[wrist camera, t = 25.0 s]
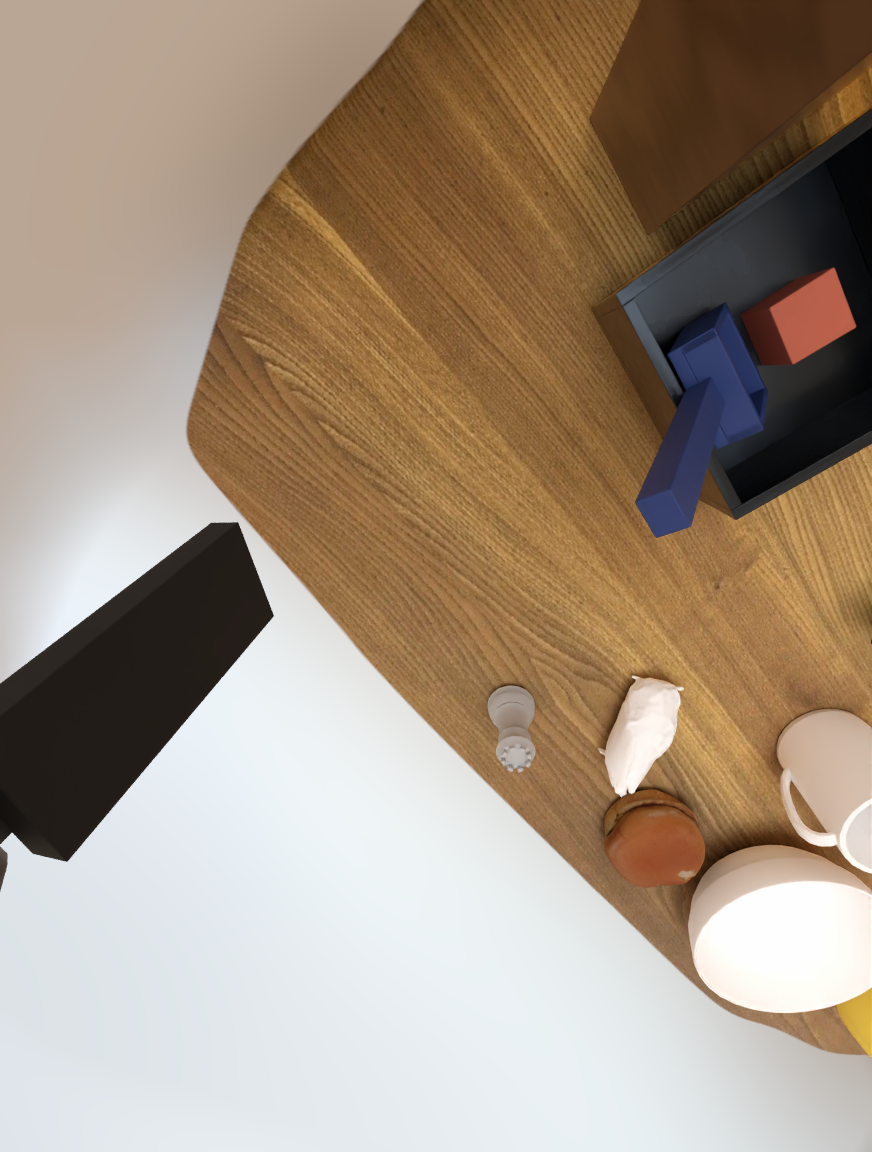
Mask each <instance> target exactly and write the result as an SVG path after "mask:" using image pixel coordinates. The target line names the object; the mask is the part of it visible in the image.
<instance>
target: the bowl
mask: <svg viewBox="0 0 872 1152" xmlns="http://www.w3.org/2000/svg"><path fill="white" fill-rule="evenodd" d="M688 930H689V938H690V944H691V949H692V955H693V961H694V965H695V967H696V969H697V971H698V974H699V976H700V977H701V979H702V980H703V981H704V982H705V984H706V985H707V986H708V987H709V988H710V989H711V990H712V991H714V992H715V993H716V994H718V995H719V996H720V997H722V998H724V999H726V1000H728V1001H730V1002H732V1003H734V1004H737V1005H740V1006H743V1007H746V1008H749V1009H754V1010H759V1011H765V1012H777V1013H795V1012H807V1011H813V1010H818V1009H823V1008H827V1007H831V1006H834V1005H837V1004H840V1003H843V1002H846V1001H848V1000H850V999H852V998H854V997H856V996H859V995H861V994H862V993H864V992H865V991H867V990H868V989H870V988H871V987H872V890H870V889H869V888H868V887H867V886H866V885H865V884H864V883H863V882H862V881H861V880H860V879H859V878H858V877H856V876H855V875H854V874H852V873H851V872H849V871H847V870H845V869H844V868H842V867H840V866H837V865H835V864H834V863H833V862H831V861H829V860H827V859H826V858H824V857H822V856H819V855H816V854H813V853H811V852H808V851H804V850H801V849H798V848H794V847H789V846H783V845H762V846H754V847H750V848H746V849H742V850H739V851H736V852H734V853H732V854H729V855H727V856H725V857H724V858H722V859H720V860H719V861H717V862H716V863H715V864H714V865H713V866H711V867H710V868H709V869H708V870H707V872H706V873H705V874H704V875H703V877H702V878H701V880H700V882H699V884H698V886H697V888H696V891H695V893H694V895H693V897H692V902H691V912H690V916H689V921H688Z"/></svg>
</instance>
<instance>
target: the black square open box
mask: <svg viewBox="0 0 872 1152" xmlns="http://www.w3.org/2000/svg"><path fill="white" fill-rule="evenodd" d="M830 268H835V271H836V273H837V276H838V279H839V281H840V284H841V287H842V289H843V292H844V295H845V297H846V300H847V303H848V306H849V308H850V311H851V314H852V316H853V319H854V322H855V324H856V328H854V329H853V330H851V331H849V332H848V333H846V334H844V335H842V336H841V337H839V338H837V339H836V340H834V341H832V342H831V343H829V344H827V345H826V346H824V347H822V348H821V349H819V350H817V351H815V352H814V353H812V354H810V355H809V356H807V357H805V358H804V359H802V360H800V361H799V362H797V363H795V364H794V365H767V366H762V364H761V362H760V360H759V358H758V355H757V353H756V351H755V348H754V346H753V344H752V341H751V339H750V337H749V334H748V332H747V330H746V327H745V325H744V323H743V320H742V318H741V316H740V314H741V313H743V312H745V311H746V310H748V309H749V308H751V307H752V306H754V305H756V304H757V303H759V302H760V301H762V300H764V299H765V298H767V297H768V296H770V295H771V294H773V293H775V292H776V291H778V290H779V289H781V288H782V287H784V286H786V285H787V284H789V283H790V282H792V281H794V280H795V279H797V278H800V277H803V276H807V275H810V274H813V273H817V272H820V271H823V270H827V269H830ZM724 302H726V304H727V306H728V308H729V310H730V312H731V314H732V316H733V319H734V321H735V323H736V325H737V327H738V329H739V331H740V333H741V335H742V338H743V340H744V342H745V344H746V346H747V348H748V350H749V352H750V354H751V357H752V359H753V361H754V363H755V365H756V367H757V369H758V371H759V373H760V376H761V378H762V380H763V382H764V384H765V386H766V388H767V390H768V398H767V406H766V414H765V422H764V430H762V431H760V432H757V433H755V434H752V435H750V436H748V437H745V438H743V439H740V440H738V441H736V442H733V443H731V444H730V443H729V444H728V445H726V446H724V447H721V448H719V449H716V447H715V445H714V446H713V449H712V453H711V457H710V460H709V464H708V467H707V471H706V474H705V478H704V482H703V485H702V489H701V492H700V496H699V499H700V500H702V501H703V502H705V503H707V504H709V505H710V506H712V507H714V508H716V509H717V510H719V511H721V512H723V513H725V514H726V515H728V516H730V517H732V518H733V519H735V520H737V519H739V518H740V517H742V516H744V515H746V514H748V513H749V512H751V511H753V510H755V509H756V508H758V507H760V506H762V505H764V504H765V503H767V502H769V501H771V500H772V499H774V498H776V497H778V496H780V495H781V494H783V493H785V492H787V491H788V490H790V489H792V488H794V487H796V486H797V485H799V484H801V483H803V482H804V481H806V480H808V479H810V478H812V477H813V476H815V475H817V474H819V473H820V472H822V471H824V470H826V469H828V468H829V467H831V466H833V465H835V464H836V463H838V462H840V461H842V460H844V459H845V458H847V457H849V456H851V455H852V454H854V453H856V452H858V451H860V450H861V449H863V448H865V447H867V446H869V445H870V444H872V106H871V107H870V108H868V109H867V110H865V111H864V112H863V113H861V114H860V115H858V116H857V117H855V118H854V119H852V120H851V121H849V122H848V123H846V124H845V125H843V126H842V127H840V128H839V129H838V130H836V131H835V132H833V133H832V134H830V135H829V136H827V137H826V138H824V139H823V140H821V141H820V142H819V143H817V144H816V145H815V146H813V147H812V148H810V149H809V150H808V151H806V152H805V153H804V154H802V155H801V156H800V157H798V158H797V159H795V160H794V161H793V162H791V163H790V164H789V165H787V166H786V167H784V168H783V169H782V170H780V171H779V172H778V173H776V174H775V175H773V176H772V177H771V178H769V179H768V180H767V181H765V182H764V183H762V184H761V185H760V186H758V187H757V188H756V189H754V190H753V191H751V192H750V193H749V194H747V195H746V196H745V197H743V198H742V199H740V200H739V201H738V202H736V203H735V204H734V205H732V206H731V207H729V208H728V209H727V210H725V211H724V212H723V213H721V214H720V215H718V216H717V217H716V218H714V219H713V220H712V221H710V222H709V223H707V224H706V225H705V226H703V227H702V228H701V229H699V230H698V231H696V232H695V233H694V234H692V235H691V236H690V237H688V238H687V239H685V240H684V241H683V242H681V243H680V244H679V245H677V246H676V247H675V248H673V249H672V250H670V251H669V252H668V253H666V254H665V255H664V256H662V257H661V258H659V259H658V260H657V261H655V262H654V263H653V264H651V265H650V266H648V267H647V268H646V269H644V270H643V271H642V272H640V273H639V274H637V275H636V276H635V277H633V278H632V279H631V280H629V281H628V282H626V283H625V284H624V285H622V286H621V287H620V288H618V289H617V290H615V291H614V292H613V293H611V294H610V295H609V296H607V297H606V298H604V299H603V300H602V301H600V302H599V303H598V304H596V305H595V306H593V307H592V308H591V309H592V311H593V313H594V315H595V317H596V319H597V320H598V322H599V324H600V326H601V328H602V330H603V331H604V333H605V335H606V337H607V339H608V340H609V342H610V344H611V346H612V348H613V350H614V351H615V353H616V355H617V357H618V359H619V360H620V362H621V364H622V366H623V368H624V370H625V371H626V373H627V375H628V377H629V379H630V380H631V382H632V384H633V386H634V388H635V390H636V391H637V393H638V395H639V397H640V399H641V401H642V402H643V404H644V406H645V408H646V410H647V411H648V413H649V415H650V417H651V419H652V421H653V422H654V424H655V426H656V428H657V430H658V431H659V433H660V435H661V437H662V439H664V437H665V435H666V433H667V430H668V428H669V426H670V424H671V422H672V419H673V417H674V415H675V413H676V410H677V408H678V406H679V404H680V402H681V399H682V397H683V395H684V393H685V391H686V390H685V388H684V386H683V384H682V382H681V380H680V378H679V376H678V374H677V372H676V370H675V368H674V367H673V365H672V363H671V361H670V359H669V357H668V355H667V354H668V352H669V351H670V349H671V348H672V346H673V344H674V343H675V341H676V339H677V338H678V336H679V334H680V333H681V331H682V329H683V328H684V326H686V325H687V324H689V323H691V322H692V321H694V320H696V319H697V318H699V317H701V316H702V315H704V314H706V313H707V312H709V311H711V310H712V309H714V308H716V307H717V306H719V305H721V304H722V303H724Z"/></svg>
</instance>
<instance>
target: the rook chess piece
mask: <svg viewBox="0 0 872 1152" xmlns="http://www.w3.org/2000/svg"><path fill="white" fill-rule="evenodd" d="M534 706H535V703H534V700H533V697H532V695H531V694H530V693H529V692H528V691H527V690H525V689H523V688H521V687H518V686H505V687H501V688H499V689H497V690H496V691H495V692H493V693H492V695H491V696H490V698H489V700H488V710H489V716H490V718H491V721H492V723H493V724H494V725H496V727H497V728H498V729H499V732H500V735H499V737H498V743H499V744H498V746H497V748H496V755H497V758H498V760H499V761H500V762H501V763H502V765H503V766H504V765H506V767H507V770H509V771H511V772H512V770H513V768H518V772H522V771H524V768H523V767H524V766H526V767H528V768H529V766H530V765H531V761H532V760H533V758H534V757H535V751H536V750H535V748H534V745H533V744H532V743H531V737H530V735H529V733H528V726H529V725H530V723H531V722H532V720H533V718H534V713H535V708H534Z"/></svg>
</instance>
